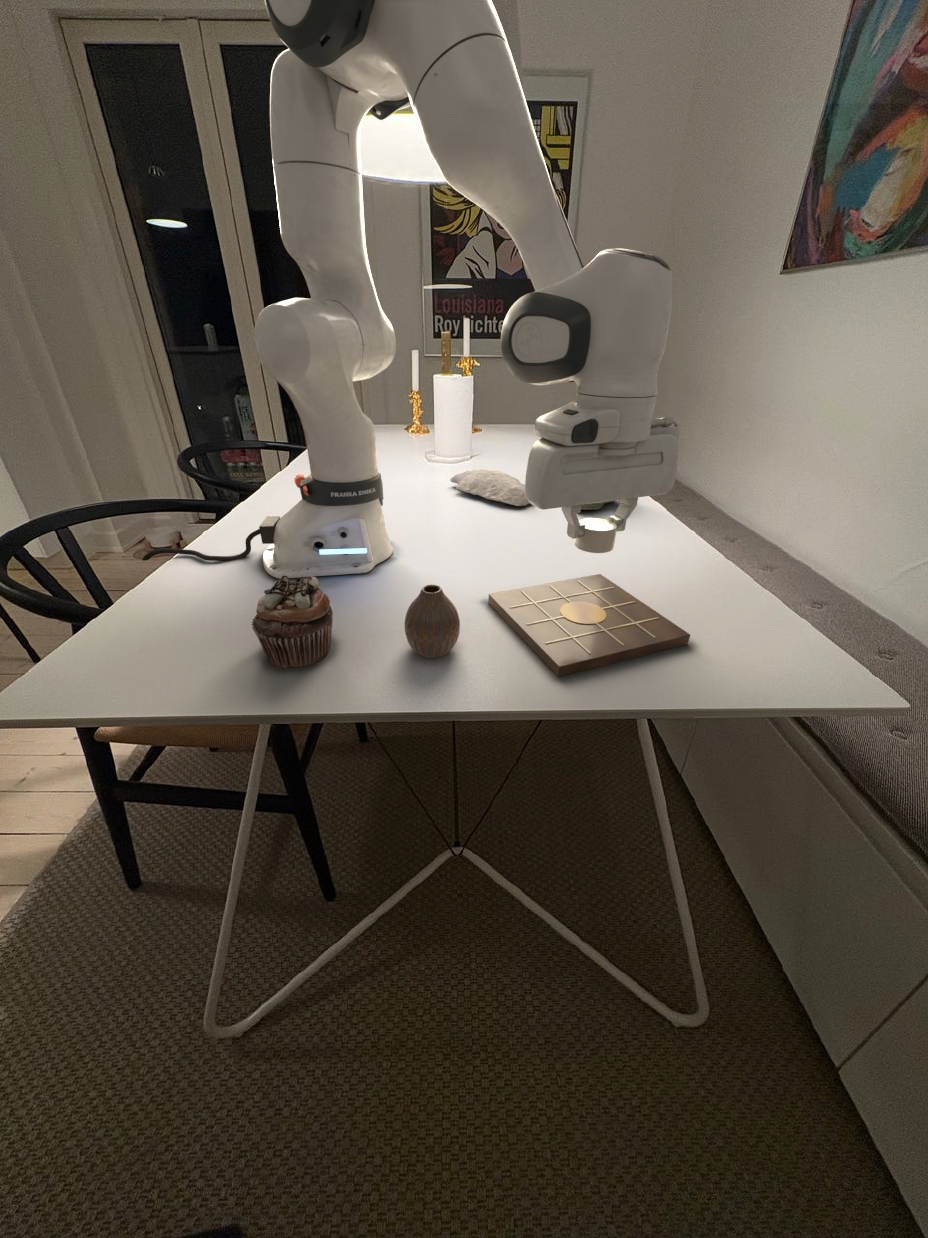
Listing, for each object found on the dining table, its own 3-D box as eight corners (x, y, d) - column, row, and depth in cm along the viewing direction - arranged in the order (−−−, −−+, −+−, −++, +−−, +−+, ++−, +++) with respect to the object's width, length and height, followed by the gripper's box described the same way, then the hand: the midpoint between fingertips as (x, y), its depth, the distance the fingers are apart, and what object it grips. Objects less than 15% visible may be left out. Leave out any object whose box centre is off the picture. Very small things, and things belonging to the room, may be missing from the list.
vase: (416, 670, 62) (413, 606, 57) (399, 641, 67) (395, 581, 63) (468, 657, 64) (469, 596, 60) (447, 631, 70) (447, 572, 65)
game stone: (589, 555, 64) (592, 532, 63) (567, 541, 68) (569, 520, 67) (621, 550, 66) (625, 527, 64) (598, 536, 70) (601, 515, 68)
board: (558, 677, 61) (559, 666, 60) (488, 602, 77) (488, 593, 76) (687, 644, 68) (690, 633, 67) (598, 582, 83) (600, 573, 83)
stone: (438, 489, 130) (504, 514, 113) (437, 467, 127) (505, 490, 110) (484, 477, 138) (553, 499, 122) (485, 456, 136) (555, 476, 119)
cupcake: (337, 627, 70) (328, 560, 65) (336, 668, 62) (326, 594, 57) (264, 634, 68) (249, 565, 63) (253, 676, 60) (235, 602, 55)
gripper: (663, 412, 65) (643, 516, 72) (522, 420, 58) (515, 535, 65) (701, 419, 60) (675, 531, 67) (551, 430, 53) (540, 553, 60)
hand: (595, 533), depth 66 cm, fingers closed on game stone, 5 cm apart
